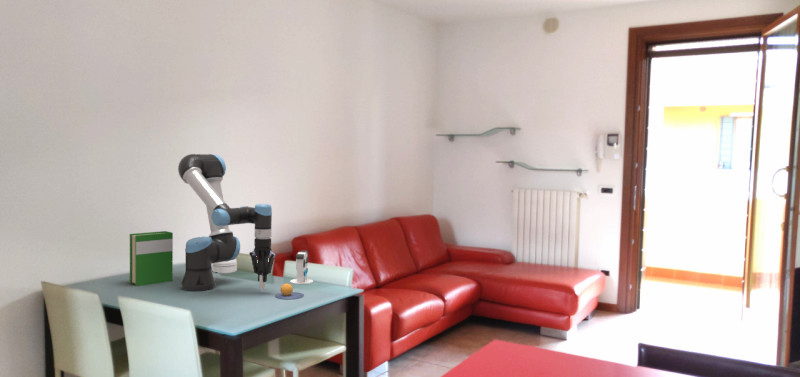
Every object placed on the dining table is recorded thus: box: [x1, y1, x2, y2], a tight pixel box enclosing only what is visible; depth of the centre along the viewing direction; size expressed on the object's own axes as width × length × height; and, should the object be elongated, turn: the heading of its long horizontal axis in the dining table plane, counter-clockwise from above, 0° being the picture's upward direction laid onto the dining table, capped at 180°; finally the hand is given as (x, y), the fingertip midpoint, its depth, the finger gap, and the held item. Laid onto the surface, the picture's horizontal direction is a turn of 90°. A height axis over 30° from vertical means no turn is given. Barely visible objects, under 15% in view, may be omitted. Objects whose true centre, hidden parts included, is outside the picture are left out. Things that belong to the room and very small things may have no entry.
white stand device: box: [289, 250, 314, 285], centre depth 291 cm, size 12×11×15 cm
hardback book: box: [129, 230, 174, 287], centre depth 281 cm, size 18×7×24 cm, turn 137°
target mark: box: [274, 291, 305, 300], centre depth 262 cm, size 13×13×1 cm
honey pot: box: [212, 257, 238, 274], centre depth 313 cm, size 13×13×18 cm
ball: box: [280, 283, 294, 296], centre depth 262 cm, size 6×6×6 cm
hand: (262, 288), depth 266 cm, fingers closed
